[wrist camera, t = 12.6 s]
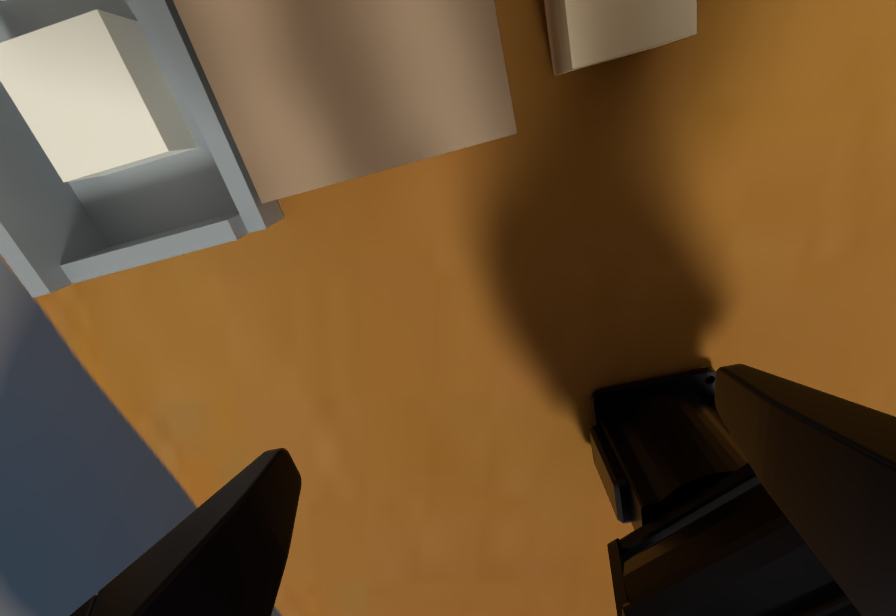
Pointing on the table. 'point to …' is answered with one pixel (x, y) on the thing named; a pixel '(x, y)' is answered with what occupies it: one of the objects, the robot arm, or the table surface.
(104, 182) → the grey tray
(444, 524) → the table surface
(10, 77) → the cream tile
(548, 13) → the beige l-shaped block
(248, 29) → the tan flat block
